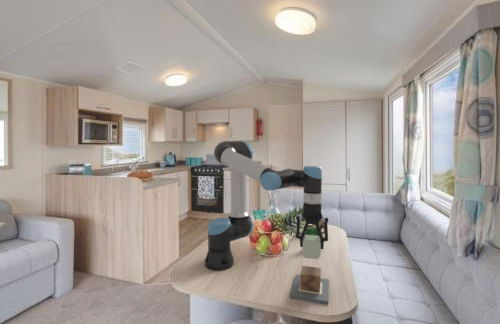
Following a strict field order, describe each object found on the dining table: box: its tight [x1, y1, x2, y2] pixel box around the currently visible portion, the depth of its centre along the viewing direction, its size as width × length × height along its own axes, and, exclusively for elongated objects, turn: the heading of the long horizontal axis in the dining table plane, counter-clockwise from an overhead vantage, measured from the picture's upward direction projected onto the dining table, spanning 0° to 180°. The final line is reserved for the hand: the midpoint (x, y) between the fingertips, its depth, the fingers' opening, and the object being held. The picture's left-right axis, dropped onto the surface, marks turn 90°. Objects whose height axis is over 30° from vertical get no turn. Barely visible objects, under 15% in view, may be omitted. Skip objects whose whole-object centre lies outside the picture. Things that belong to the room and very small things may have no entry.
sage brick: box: [303, 234, 320, 260], centre depth 115 cm, size 6×6×8 cm
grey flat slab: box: [290, 274, 330, 305], centre depth 116 cm, size 15×18×1 cm
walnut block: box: [300, 265, 322, 293], centre depth 116 cm, size 8×8×7 cm
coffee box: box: [305, 226, 319, 236], centre depth 161 cm, size 8×3×13 cm, turn 123°
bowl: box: [307, 219, 325, 236], centre depth 187 cm, size 18×18×10 cm
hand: (311, 255), depth 115 cm, fingers closed on sage brick, 6 cm apart
